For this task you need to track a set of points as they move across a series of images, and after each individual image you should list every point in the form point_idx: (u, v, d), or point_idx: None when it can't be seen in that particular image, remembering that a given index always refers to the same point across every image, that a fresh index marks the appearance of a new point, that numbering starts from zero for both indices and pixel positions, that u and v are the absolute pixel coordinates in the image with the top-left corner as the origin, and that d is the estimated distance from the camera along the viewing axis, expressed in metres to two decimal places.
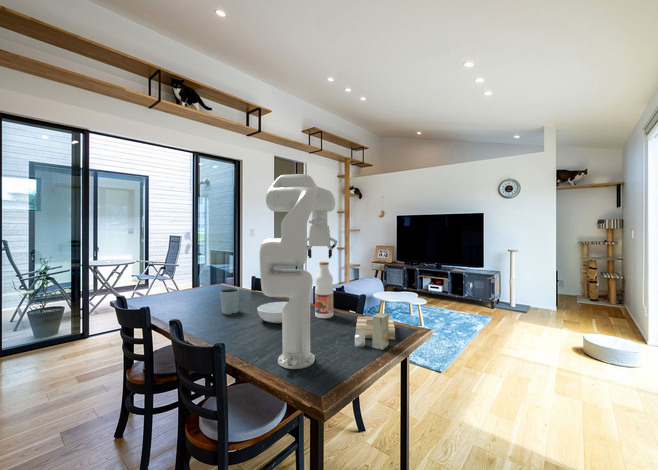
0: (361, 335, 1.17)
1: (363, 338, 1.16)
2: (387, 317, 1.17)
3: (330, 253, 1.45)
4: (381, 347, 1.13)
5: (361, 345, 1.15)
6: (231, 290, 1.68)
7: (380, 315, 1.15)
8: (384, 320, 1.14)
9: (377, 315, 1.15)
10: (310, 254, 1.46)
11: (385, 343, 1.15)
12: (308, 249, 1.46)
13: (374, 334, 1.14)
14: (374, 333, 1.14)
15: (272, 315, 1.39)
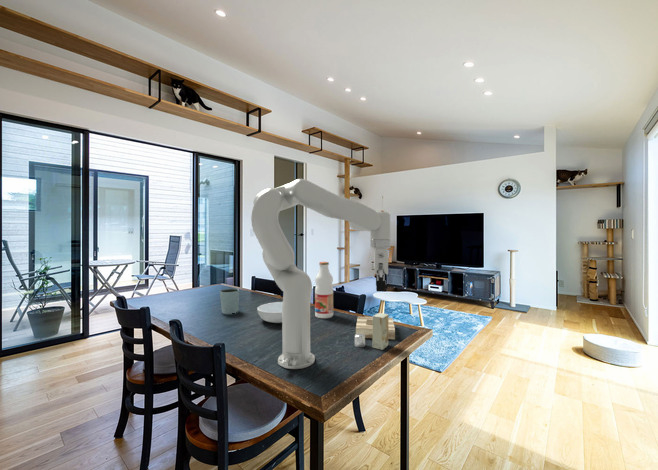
0: (361, 335, 1.17)
1: (363, 338, 1.16)
2: (387, 317, 1.17)
3: None
4: (381, 347, 1.13)
5: (361, 345, 1.15)
6: (231, 290, 1.68)
7: (380, 315, 1.15)
8: (384, 320, 1.14)
9: (377, 315, 1.15)
10: None
11: (385, 343, 1.15)
12: None
13: (374, 334, 1.14)
14: (374, 333, 1.14)
15: (272, 315, 1.39)
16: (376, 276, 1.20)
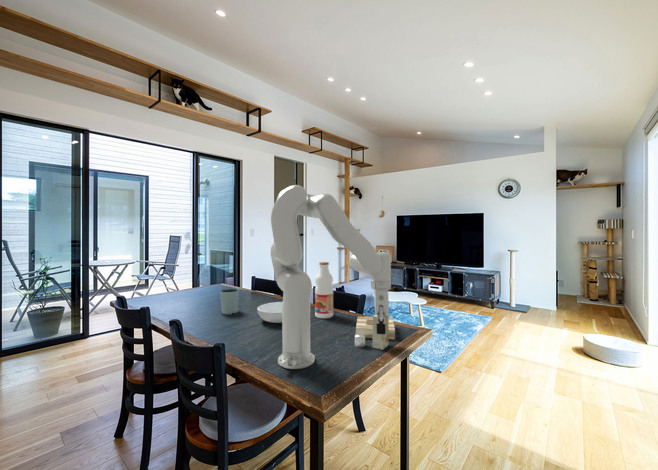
0: (361, 335, 1.17)
1: (363, 338, 1.16)
2: (387, 317, 1.16)
3: None
4: (381, 347, 1.13)
5: (361, 345, 1.15)
6: (231, 290, 1.68)
7: None
8: None
9: None
10: None
11: (385, 342, 1.15)
12: None
13: (374, 334, 1.14)
14: (374, 333, 1.14)
15: (272, 315, 1.39)
16: None
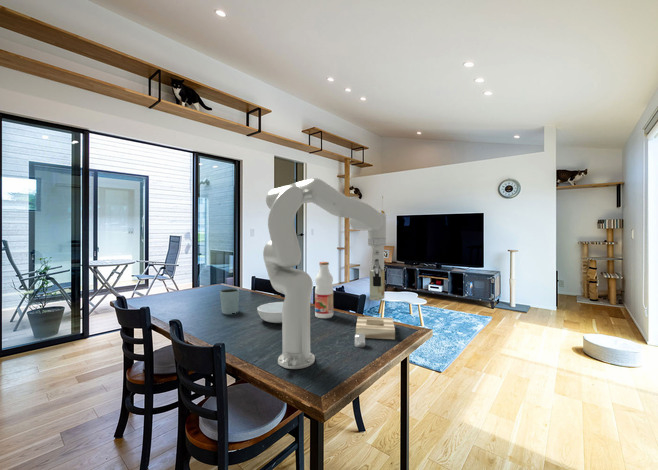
0: (361, 335, 1.17)
1: (363, 338, 1.16)
2: (383, 272, 1.27)
3: None
4: (377, 298, 1.23)
5: (361, 345, 1.15)
6: (231, 290, 1.68)
7: None
8: (380, 274, 1.24)
9: None
10: None
11: (381, 295, 1.25)
12: (379, 276, 1.22)
13: (371, 287, 1.25)
14: (371, 286, 1.25)
15: (272, 315, 1.39)
16: None
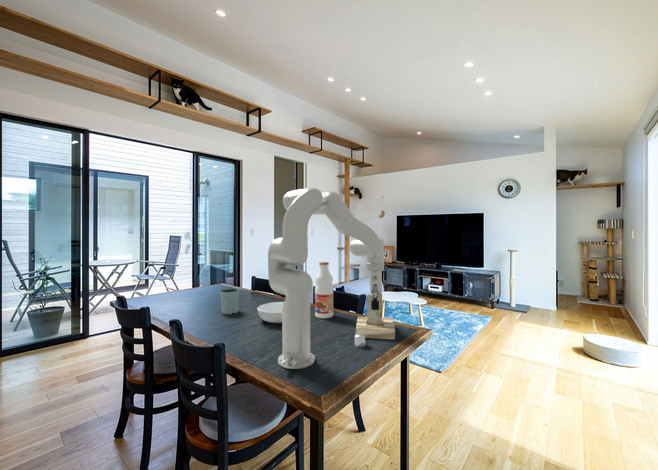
0: (361, 335, 1.17)
1: (363, 338, 1.16)
2: (381, 295, 1.32)
3: None
4: (375, 321, 1.29)
5: (361, 345, 1.15)
6: (231, 290, 1.68)
7: None
8: (378, 298, 1.29)
9: None
10: None
11: (379, 318, 1.31)
12: (377, 300, 1.27)
13: (369, 310, 1.30)
14: (369, 309, 1.30)
15: (272, 315, 1.39)
16: None
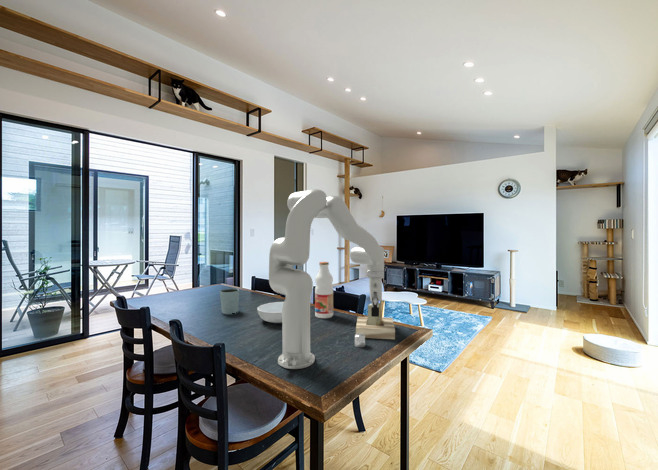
0: (361, 335, 1.17)
1: (363, 338, 1.16)
2: (381, 306, 1.33)
3: None
4: None
5: (361, 345, 1.15)
6: (231, 290, 1.68)
7: None
8: None
9: None
10: None
11: None
12: None
13: (369, 321, 1.30)
14: (369, 320, 1.30)
15: (272, 315, 1.39)
16: None
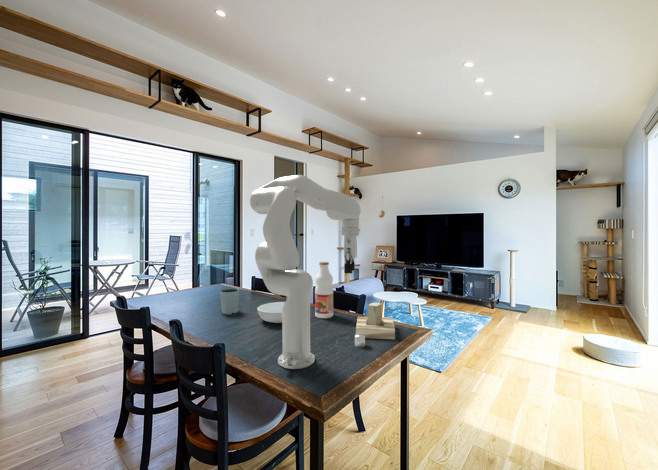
0: (361, 335, 1.17)
1: (363, 338, 1.16)
2: (381, 306, 1.33)
3: None
4: None
5: (361, 345, 1.15)
6: (231, 290, 1.68)
7: (374, 304, 1.32)
8: (378, 308, 1.30)
9: (372, 304, 1.32)
10: None
11: None
12: (351, 263, 1.24)
13: (369, 321, 1.30)
14: (369, 320, 1.30)
15: (272, 315, 1.39)
16: None
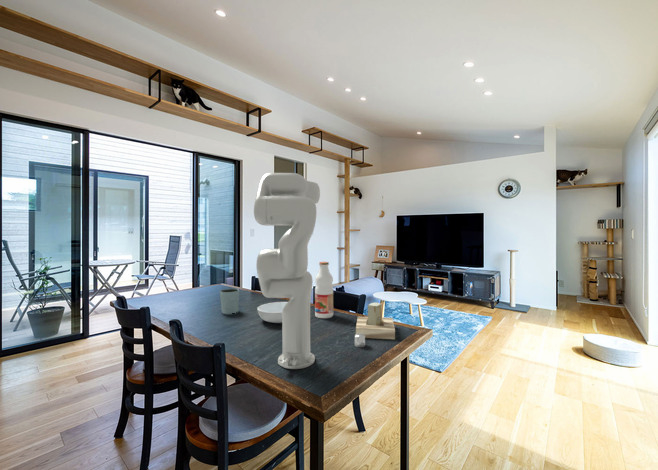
0: (361, 335, 1.17)
1: (363, 338, 1.16)
2: (381, 306, 1.33)
3: None
4: None
5: (361, 345, 1.15)
6: (231, 290, 1.68)
7: (374, 304, 1.32)
8: (378, 308, 1.30)
9: (372, 304, 1.32)
10: None
11: None
12: None
13: (369, 321, 1.30)
14: (369, 320, 1.30)
15: (272, 315, 1.39)
16: None
